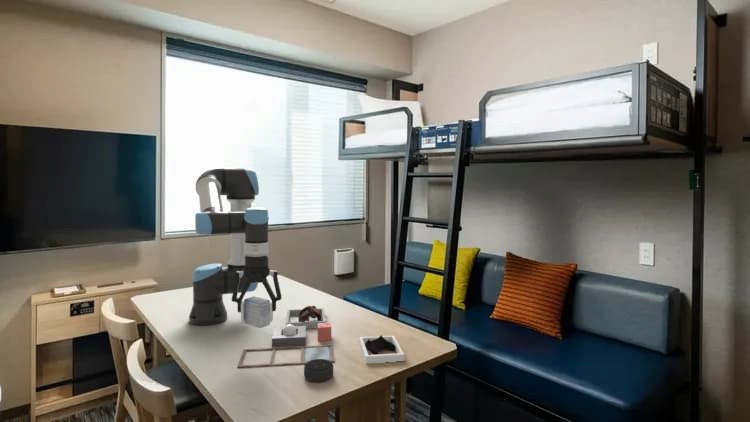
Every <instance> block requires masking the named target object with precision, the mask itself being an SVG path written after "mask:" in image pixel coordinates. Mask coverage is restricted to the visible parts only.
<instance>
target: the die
mask: <svg viewBox="0 0 750 422" xmlns="http://www.w3.org/2000/svg"><path fill="white" fill-rule="evenodd" d="M331 323H332V322H327V321H326V323H318V328H317V341H321V342H323V341H332V324H331Z"/></svg>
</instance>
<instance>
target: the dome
mask: <svg viewBox="0 0 750 422" xmlns="http://www.w3.org/2000/svg"><path fill="white" fill-rule="evenodd" d="M283 327H284V328H283V335H295V334H296V327H295V326H294V325H292V324H288V325H286V324H285V325H284V326H283Z"/></svg>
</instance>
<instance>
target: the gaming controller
mask: <svg viewBox="0 0 750 422" xmlns="http://www.w3.org/2000/svg"><path fill="white" fill-rule="evenodd" d="M379 336H380V337H379V338H378V339H375V340H372V341H370V339H369V340H368V341H367V342H366V343H365V347H366V350H367V353H368V354H369V355H379V351H380V352H381V351H384V350H388V351H392V352H393V351H395V345H394V344H393V343H391V342H389V341H387V340H385V339H384V338H383V337H382V336H383V335H379Z"/></svg>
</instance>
